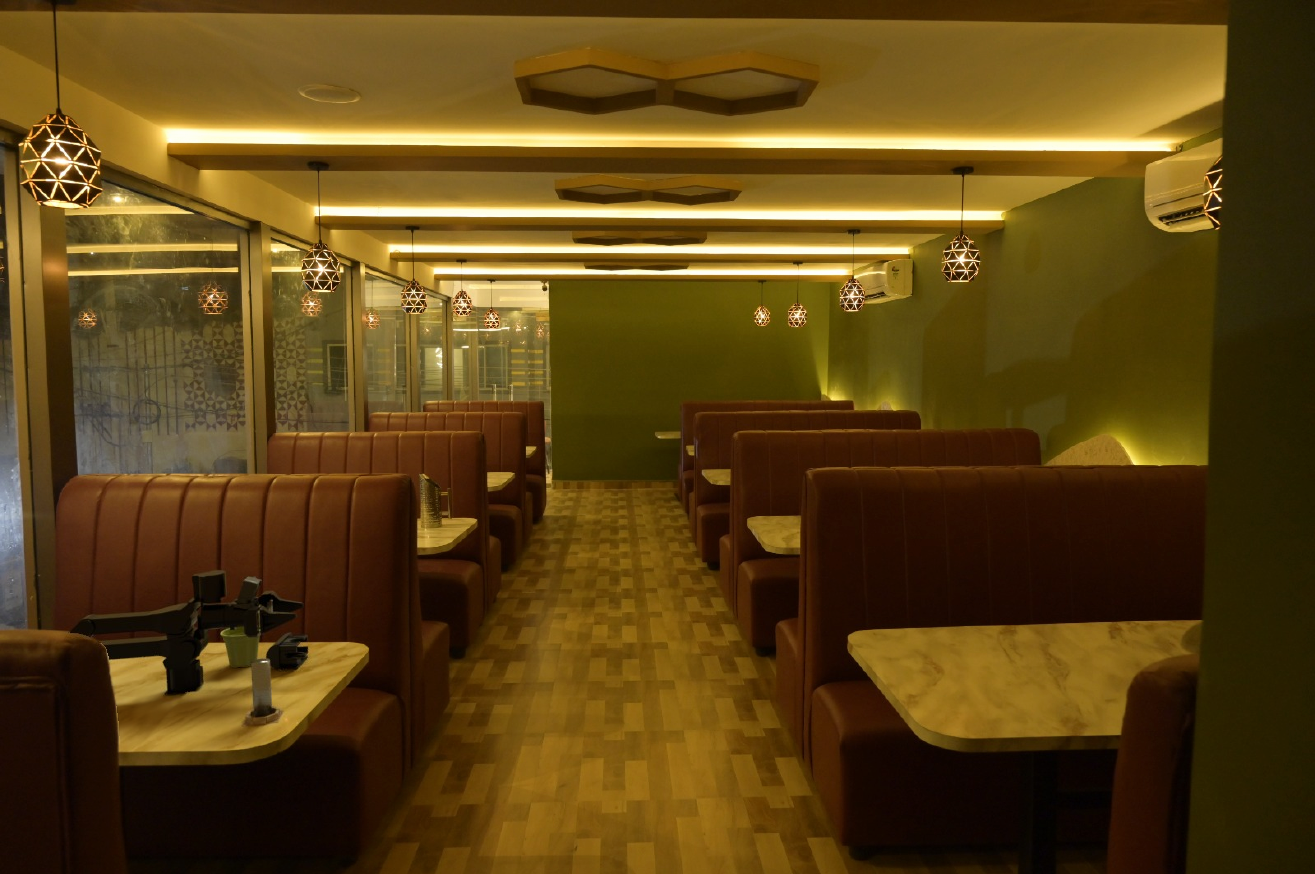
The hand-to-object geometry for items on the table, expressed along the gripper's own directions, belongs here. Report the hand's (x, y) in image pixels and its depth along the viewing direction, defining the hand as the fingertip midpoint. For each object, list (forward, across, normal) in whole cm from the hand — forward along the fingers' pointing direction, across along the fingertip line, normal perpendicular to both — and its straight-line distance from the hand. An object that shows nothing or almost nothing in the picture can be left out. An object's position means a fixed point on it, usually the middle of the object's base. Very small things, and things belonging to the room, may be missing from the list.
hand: (299, 610), depth 195 cm
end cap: (-5, +12, +17) cm, 21 cm away
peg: (-3, -25, +16) cm, 30 cm away
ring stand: (-3, -25, +16) cm, 30 cm away
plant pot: (-16, +15, +17) cm, 28 cm away
